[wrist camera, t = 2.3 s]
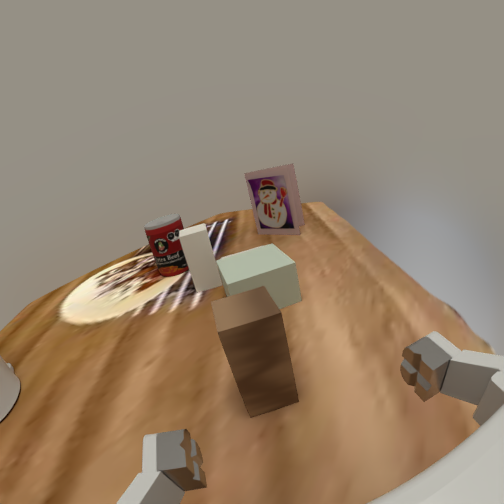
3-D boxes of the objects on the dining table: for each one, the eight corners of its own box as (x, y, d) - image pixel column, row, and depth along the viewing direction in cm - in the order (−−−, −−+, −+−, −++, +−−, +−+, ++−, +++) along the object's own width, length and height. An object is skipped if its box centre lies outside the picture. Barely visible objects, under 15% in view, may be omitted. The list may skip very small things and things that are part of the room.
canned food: (155, 279, 57) (137, 229, 54) (167, 263, 65) (152, 218, 61) (188, 274, 56) (171, 221, 52) (198, 258, 64) (184, 211, 60)
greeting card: (256, 235, 70) (242, 174, 64) (272, 224, 75) (260, 168, 70) (298, 236, 63) (285, 168, 57) (312, 224, 68) (301, 162, 63)
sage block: (238, 324, 37) (227, 284, 35) (226, 295, 45) (216, 260, 43) (301, 302, 39) (295, 262, 37) (279, 277, 47) (272, 243, 45)
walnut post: (250, 417, 22) (217, 332, 19) (240, 384, 26) (210, 301, 23) (298, 401, 23) (281, 312, 19) (283, 371, 27) (264, 285, 24)
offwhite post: (196, 292, 48) (179, 237, 44) (195, 282, 52) (179, 230, 48) (222, 285, 48) (206, 229, 45) (219, 275, 53) (204, 223, 49)
